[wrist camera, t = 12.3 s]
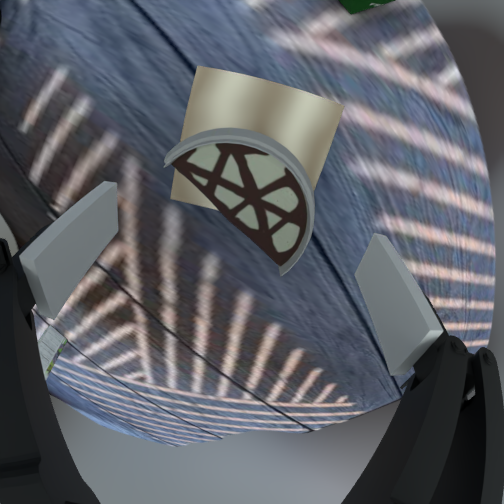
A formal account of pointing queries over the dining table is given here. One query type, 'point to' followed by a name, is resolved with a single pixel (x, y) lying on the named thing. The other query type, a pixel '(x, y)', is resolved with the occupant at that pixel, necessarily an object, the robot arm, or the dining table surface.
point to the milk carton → (362, 4)
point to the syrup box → (50, 348)
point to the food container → (252, 187)
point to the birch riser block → (258, 120)
